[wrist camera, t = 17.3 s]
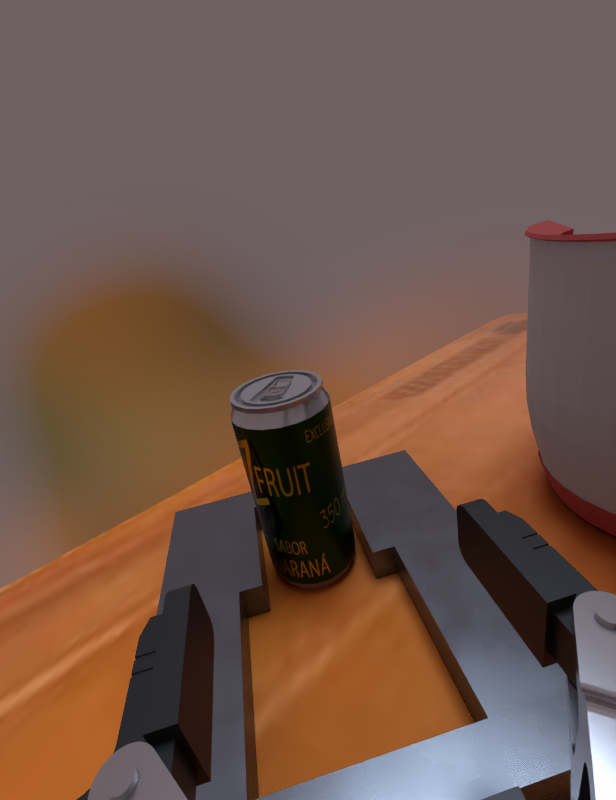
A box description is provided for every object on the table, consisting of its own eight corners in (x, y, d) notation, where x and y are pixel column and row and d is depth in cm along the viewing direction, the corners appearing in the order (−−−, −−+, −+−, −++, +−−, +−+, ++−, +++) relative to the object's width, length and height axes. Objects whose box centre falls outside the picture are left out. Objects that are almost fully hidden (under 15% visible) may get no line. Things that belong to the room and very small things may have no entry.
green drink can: (288, 526, 29) (248, 372, 24) (362, 529, 27) (335, 365, 23) (262, 589, 24) (206, 413, 20) (349, 597, 23) (312, 408, 18)
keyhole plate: (640, 771, 14) (649, 740, 13) (121, 968, 12) (96, 944, 12) (406, 471, 32) (404, 450, 32) (183, 532, 31) (175, 512, 30)
